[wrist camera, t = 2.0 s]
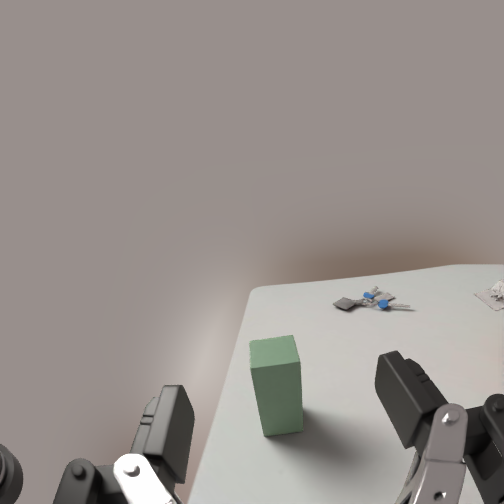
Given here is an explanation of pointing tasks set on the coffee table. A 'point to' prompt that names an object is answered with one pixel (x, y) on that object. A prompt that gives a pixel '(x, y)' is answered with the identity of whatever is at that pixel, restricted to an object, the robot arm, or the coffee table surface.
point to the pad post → (277, 384)
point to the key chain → (381, 299)
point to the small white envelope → (493, 296)
